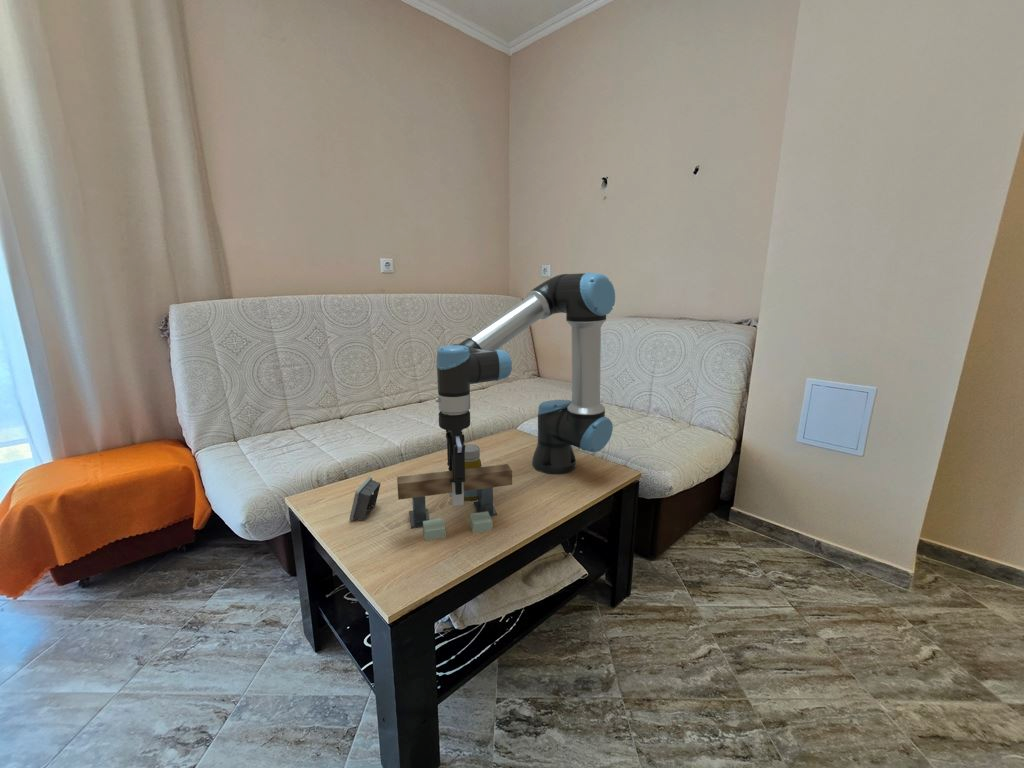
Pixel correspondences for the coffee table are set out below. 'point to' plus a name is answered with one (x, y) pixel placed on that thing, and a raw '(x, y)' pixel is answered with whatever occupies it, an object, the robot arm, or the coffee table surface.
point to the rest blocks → (437, 528)
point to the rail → (441, 483)
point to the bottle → (471, 466)
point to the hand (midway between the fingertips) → (456, 499)
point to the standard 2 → (485, 501)
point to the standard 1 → (418, 512)
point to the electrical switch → (365, 499)
